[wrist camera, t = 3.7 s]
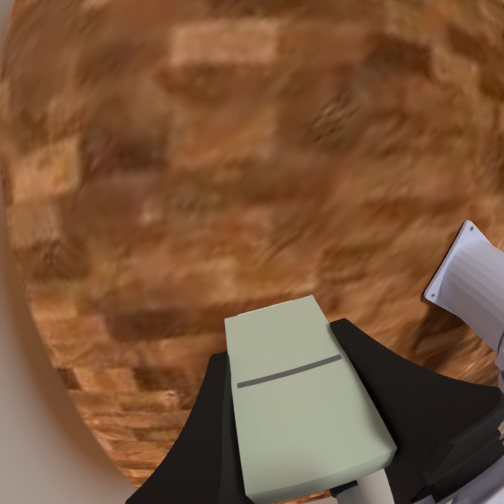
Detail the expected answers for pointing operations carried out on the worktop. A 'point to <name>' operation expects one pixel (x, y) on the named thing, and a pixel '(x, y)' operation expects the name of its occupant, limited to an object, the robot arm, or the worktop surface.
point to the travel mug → (376, 488)
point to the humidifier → (348, 493)
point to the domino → (299, 405)
